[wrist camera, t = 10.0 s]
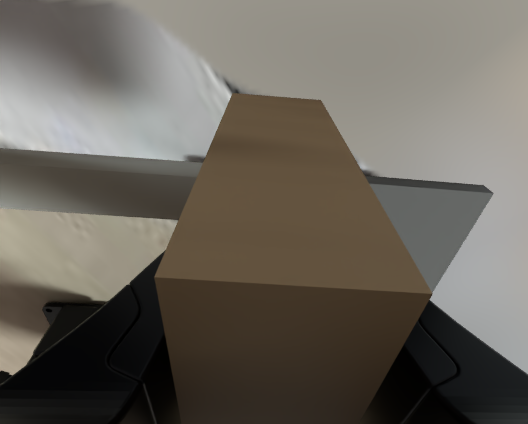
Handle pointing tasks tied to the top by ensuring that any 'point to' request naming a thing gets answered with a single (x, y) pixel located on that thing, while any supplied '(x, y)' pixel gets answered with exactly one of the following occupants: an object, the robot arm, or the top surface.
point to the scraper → (256, 262)
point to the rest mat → (431, 218)
